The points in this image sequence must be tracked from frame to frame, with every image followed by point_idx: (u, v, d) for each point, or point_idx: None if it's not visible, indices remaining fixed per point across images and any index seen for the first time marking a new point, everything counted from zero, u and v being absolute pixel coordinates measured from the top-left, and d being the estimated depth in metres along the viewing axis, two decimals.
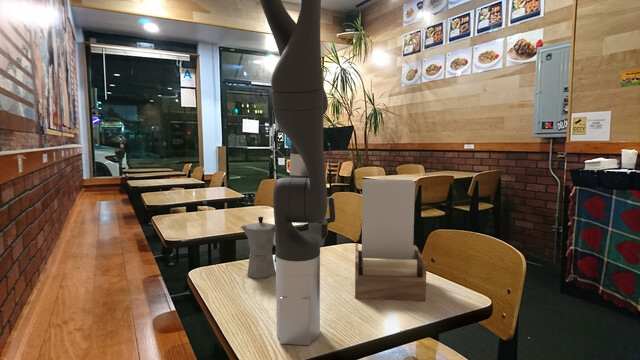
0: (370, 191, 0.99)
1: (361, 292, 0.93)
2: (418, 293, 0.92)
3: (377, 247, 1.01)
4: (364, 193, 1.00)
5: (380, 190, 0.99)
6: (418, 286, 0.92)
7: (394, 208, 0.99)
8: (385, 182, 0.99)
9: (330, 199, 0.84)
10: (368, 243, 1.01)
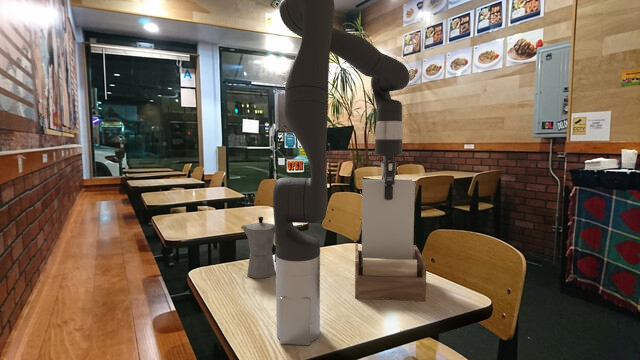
0: (370, 191, 0.99)
1: (361, 292, 0.93)
2: (418, 293, 0.92)
3: (377, 247, 1.01)
4: (364, 193, 0.99)
5: (380, 190, 0.99)
6: (418, 286, 0.92)
7: (394, 208, 0.99)
8: None
9: None
10: (368, 243, 1.01)
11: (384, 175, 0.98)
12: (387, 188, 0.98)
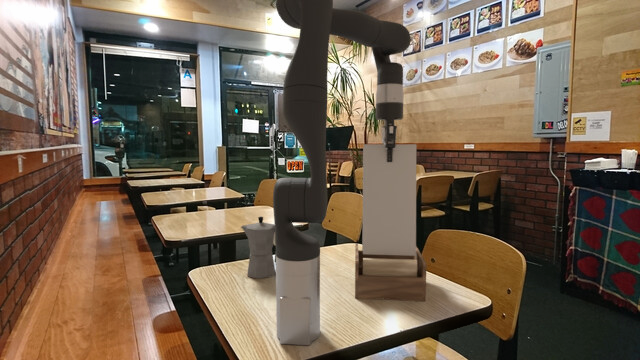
0: (371, 154, 0.98)
1: (361, 292, 0.93)
2: (418, 293, 0.92)
3: (379, 213, 0.97)
4: (365, 157, 0.98)
5: (381, 153, 0.98)
6: (418, 286, 0.92)
7: (396, 172, 0.97)
8: None
9: None
10: (369, 209, 0.97)
11: (385, 139, 0.97)
12: (388, 152, 0.97)
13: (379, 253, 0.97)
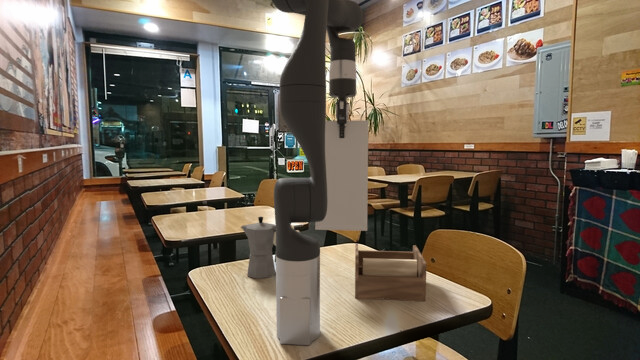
0: None
1: (361, 292, 0.93)
2: (418, 293, 0.92)
3: (331, 189, 0.98)
4: None
5: (334, 129, 0.98)
6: (418, 286, 0.92)
7: (348, 148, 0.98)
8: None
9: None
10: None
11: None
12: (340, 128, 0.97)
13: (331, 228, 0.98)
